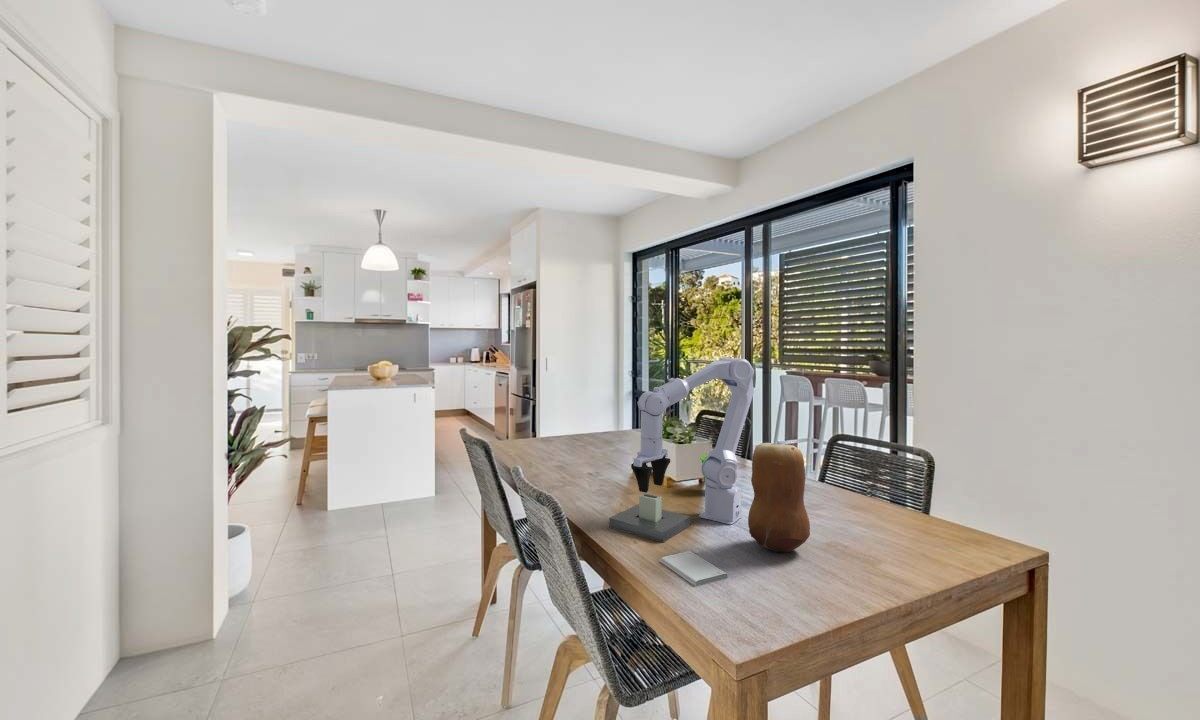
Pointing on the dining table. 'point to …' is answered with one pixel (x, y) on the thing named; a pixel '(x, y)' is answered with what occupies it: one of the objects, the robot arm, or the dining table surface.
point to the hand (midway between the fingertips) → (650, 488)
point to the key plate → (650, 524)
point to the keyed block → (650, 507)
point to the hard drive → (693, 568)
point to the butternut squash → (778, 498)
